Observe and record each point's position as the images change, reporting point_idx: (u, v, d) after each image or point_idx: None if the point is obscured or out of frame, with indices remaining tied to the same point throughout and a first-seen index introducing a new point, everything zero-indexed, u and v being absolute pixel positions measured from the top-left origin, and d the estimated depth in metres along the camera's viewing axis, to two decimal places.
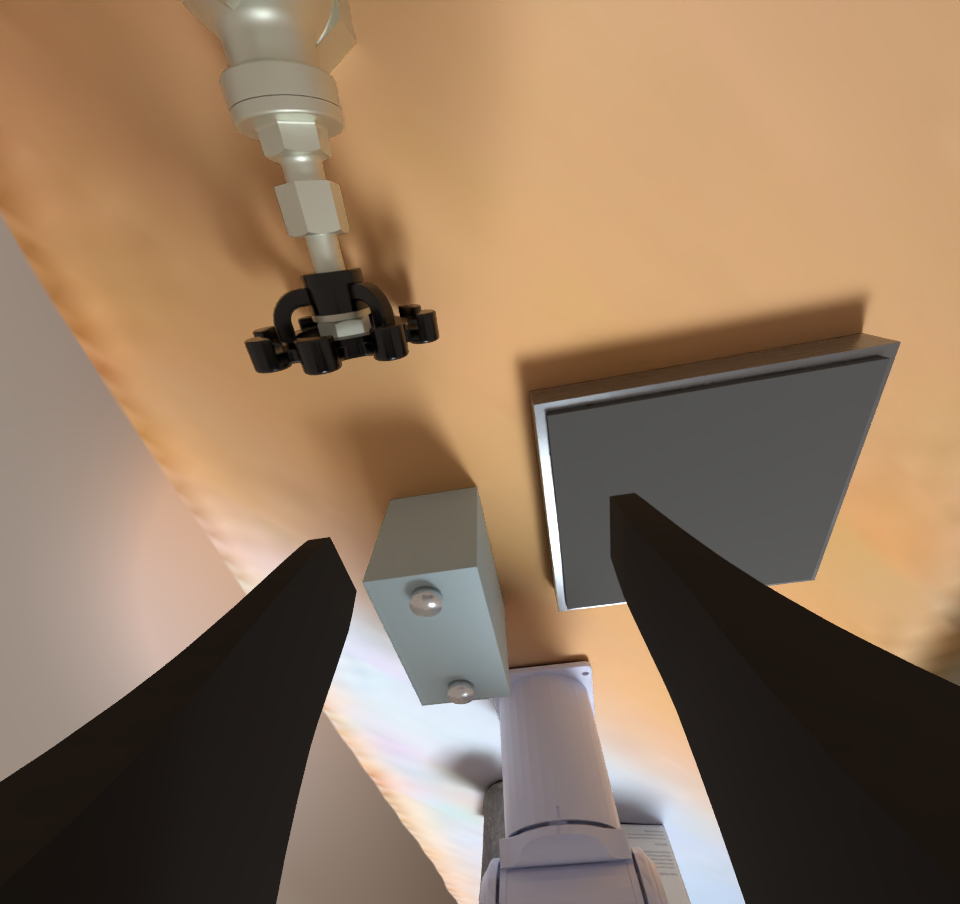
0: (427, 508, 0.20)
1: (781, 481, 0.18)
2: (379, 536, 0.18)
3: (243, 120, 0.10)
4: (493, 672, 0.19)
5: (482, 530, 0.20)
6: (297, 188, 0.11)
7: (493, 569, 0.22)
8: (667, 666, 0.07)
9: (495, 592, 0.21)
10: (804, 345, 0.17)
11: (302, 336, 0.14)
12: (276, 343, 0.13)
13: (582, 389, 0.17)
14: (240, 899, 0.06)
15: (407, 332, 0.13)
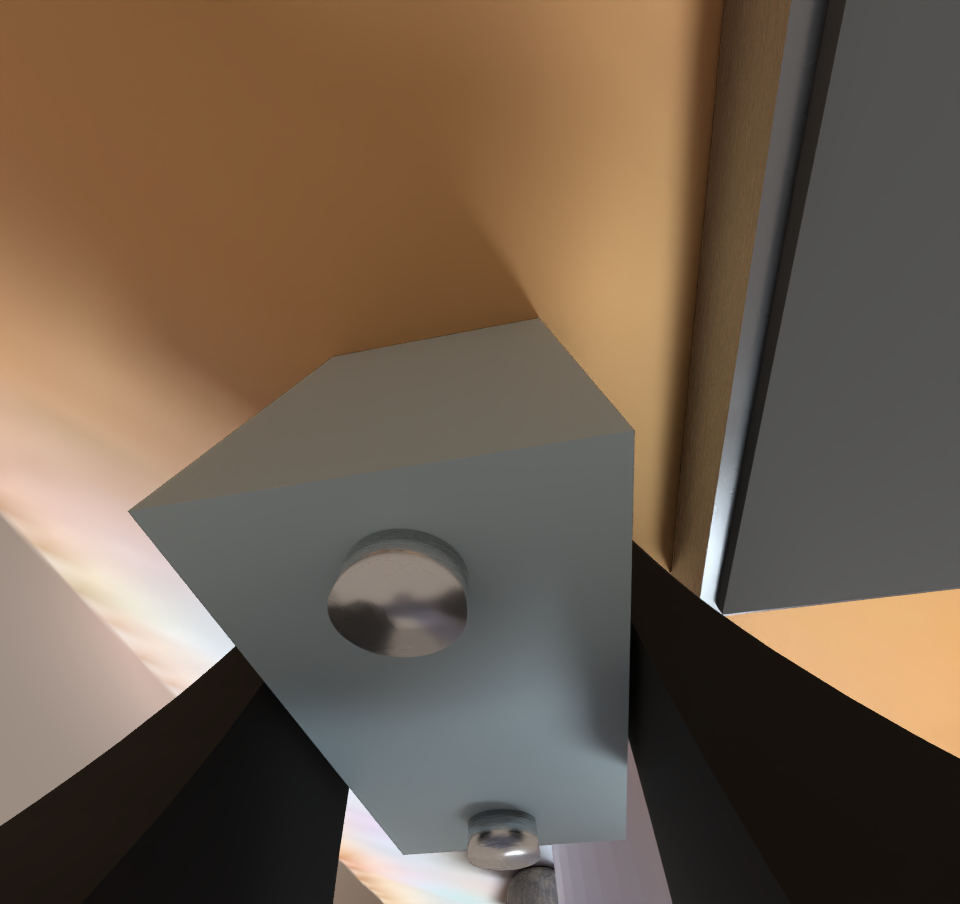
0: (417, 354, 0.08)
1: None
2: (272, 404, 0.06)
3: None
4: (596, 794, 0.07)
5: None
6: None
7: None
8: None
9: None
10: None
11: None
12: None
13: None
14: (303, 895, 0.06)
15: None
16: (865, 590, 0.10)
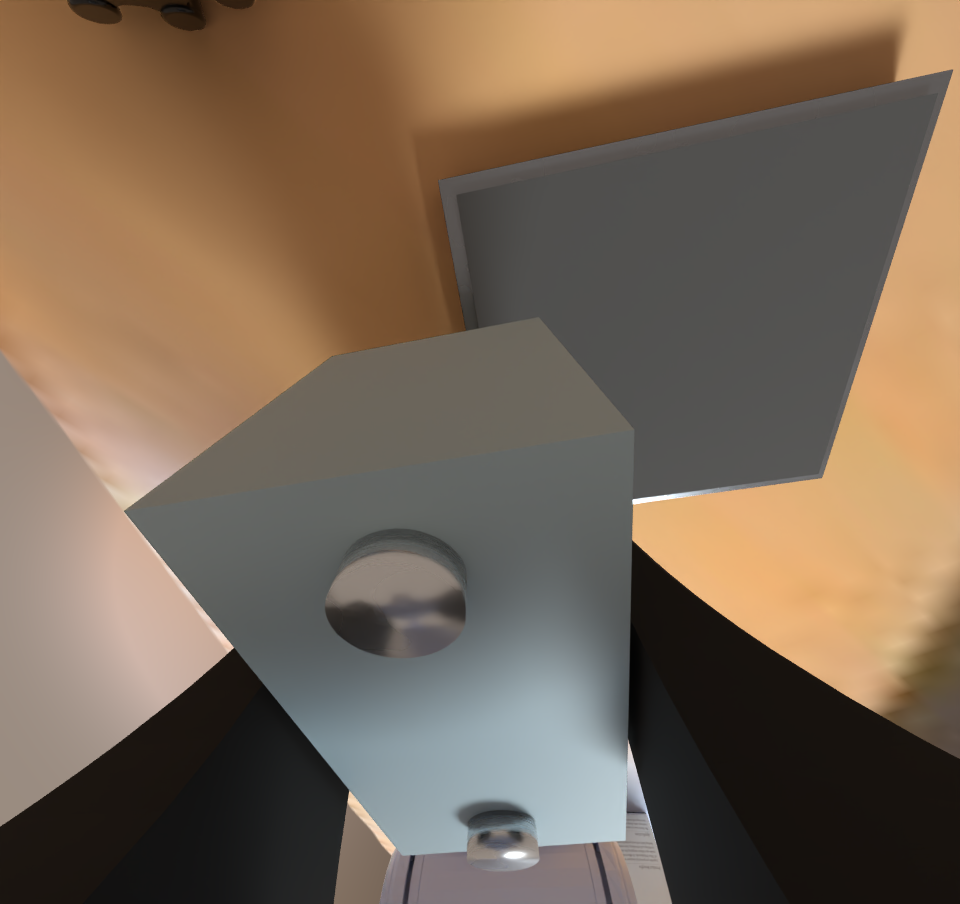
0: (416, 354, 0.07)
1: (781, 315, 0.13)
2: (271, 403, 0.06)
3: None
4: (596, 795, 0.07)
5: None
6: None
7: None
8: None
9: None
10: None
11: None
12: None
13: None
14: (304, 895, 0.06)
15: None
16: None
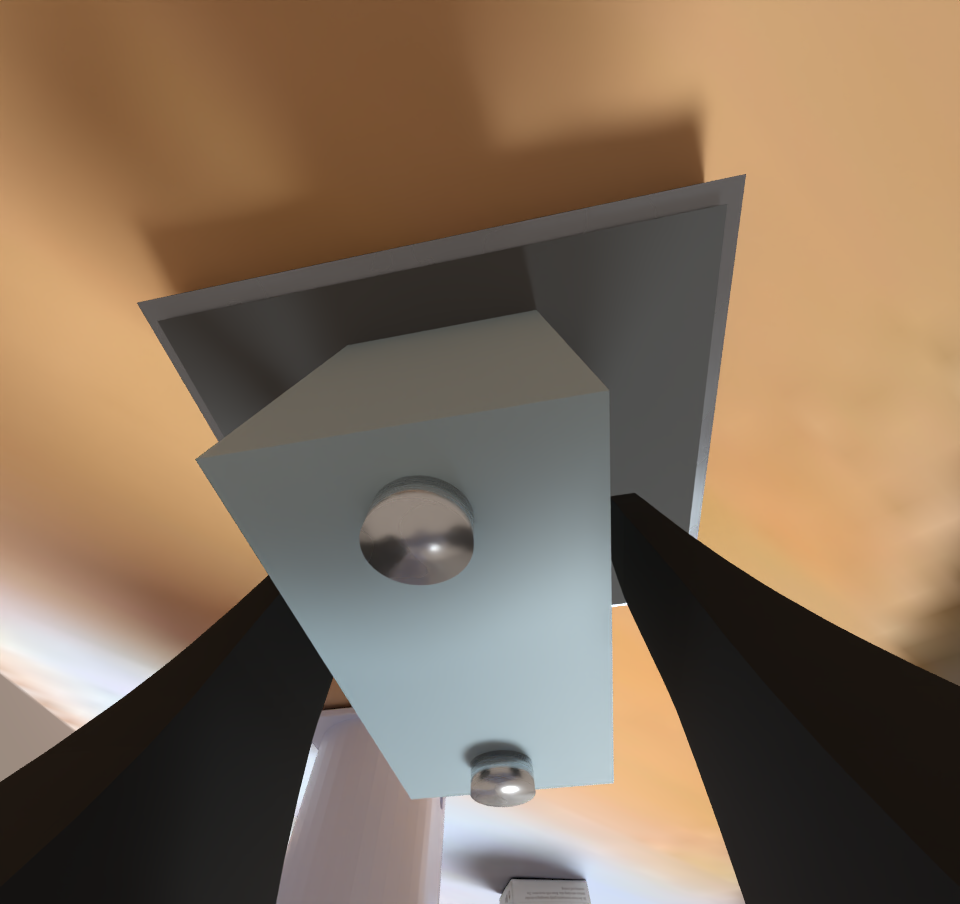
0: (426, 341, 0.08)
1: None
2: (299, 383, 0.07)
3: None
4: (586, 735, 0.08)
5: None
6: None
7: None
8: (667, 666, 0.07)
9: None
10: None
11: None
12: None
13: None
14: (240, 899, 0.06)
15: None
16: None
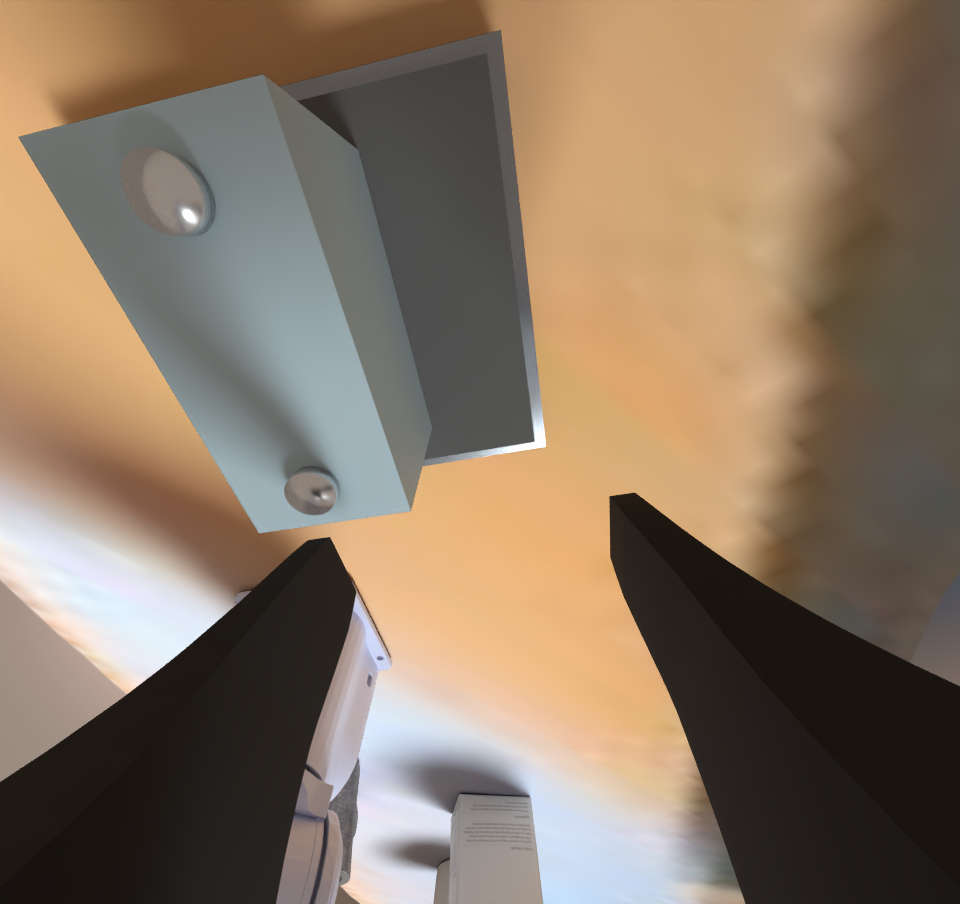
0: None
1: (429, 280, 0.14)
2: None
3: None
4: (368, 445, 0.10)
5: (356, 201, 0.11)
6: None
7: (397, 326, 0.13)
8: (667, 666, 0.07)
9: (392, 345, 0.12)
10: None
11: None
12: None
13: None
14: (240, 899, 0.06)
15: None
16: None
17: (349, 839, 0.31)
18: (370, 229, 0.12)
